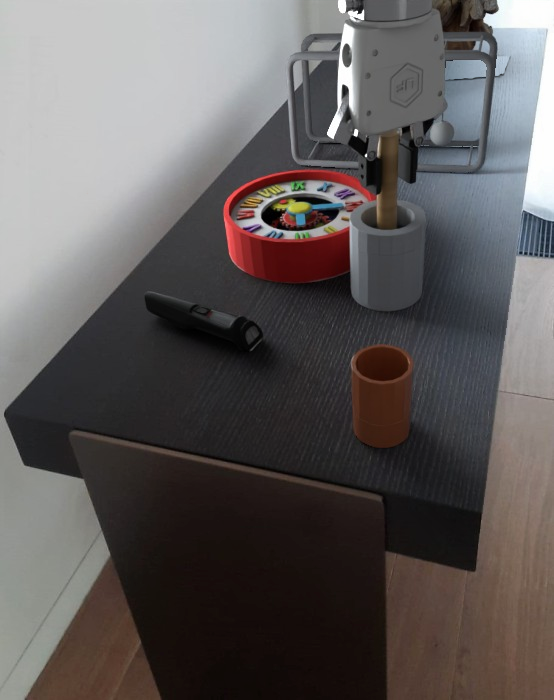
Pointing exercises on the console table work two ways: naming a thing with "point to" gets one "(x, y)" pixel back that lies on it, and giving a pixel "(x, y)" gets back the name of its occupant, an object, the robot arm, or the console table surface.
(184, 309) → the electric trimmer
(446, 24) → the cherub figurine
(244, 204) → the toy clock
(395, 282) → the grey hollow cylinder
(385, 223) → the brush
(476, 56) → the newton's cradle
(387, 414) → the pot
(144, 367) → the console table surface
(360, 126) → the robot arm
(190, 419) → the console table surface
